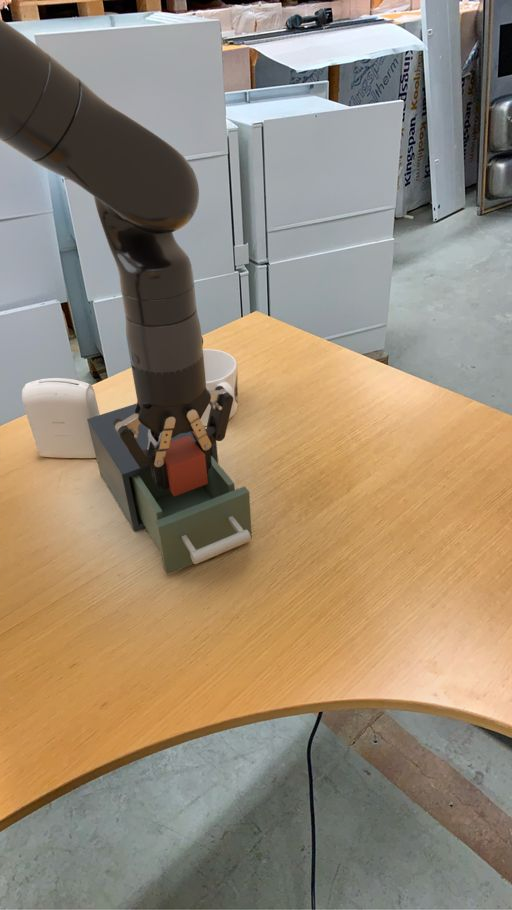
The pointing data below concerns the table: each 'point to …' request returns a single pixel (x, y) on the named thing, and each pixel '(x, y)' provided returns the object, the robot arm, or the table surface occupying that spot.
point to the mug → (220, 377)
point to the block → (185, 466)
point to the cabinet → (122, 459)
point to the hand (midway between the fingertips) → (183, 477)
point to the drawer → (193, 517)
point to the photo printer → (61, 416)
